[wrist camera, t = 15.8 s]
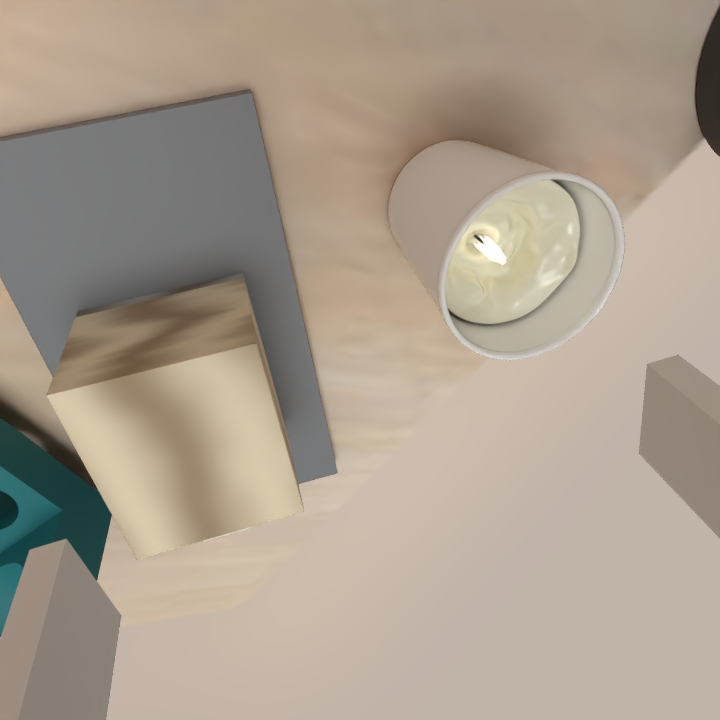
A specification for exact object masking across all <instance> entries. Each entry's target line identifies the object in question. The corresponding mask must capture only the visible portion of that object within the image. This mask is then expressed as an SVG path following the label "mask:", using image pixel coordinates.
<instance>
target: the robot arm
mask: <svg viewBox="0 0 720 720" xmlns="http://www.w3.org/2000/svg"><path fill="white" fill-rule="evenodd" d="M697 111H698V118H699V122H700V126H701V129H702V132H703V134H704V137H705V138H706V140H707V142H708V144H709V145H710V147H711V148H712V149H713V150H714V152H715V153H716V154H717V155H718V156H720V11H719V12H718V15H717V17H716V19H715V21H714V23H713V25H712V28H711V30H710V33H709V35H708V38H707V41H706V44H705V47H704V50H703V54H702V58H701V62H700V67H699V72H698V80H697ZM639 454H640V455H641V456H642V457H643V458H644V459H645V460H646V462H647V463H648V464H649V465H650V466H651V467H652V468H653V469H654V470H655V471H656V472H657V473H658V474H659V475H660V476H661V477H662V478H663V479H664V480H665V481H666V482H667V484H668V485H669V486H670V487H671V488H672V489H673V490H674V491H675V492H676V493H677V494H678V495H679V496H680V497H681V498H682V499H683V500H684V501H685V502H686V503H687V504H688V506H690V507H691V509H692V510H693V511H694V512H695V513H696V514H697V515H698V516H699V517H700V518H701V519H702V520H703V521H704V522H705V523H706V524H707V525H708V526H709V528H711V530H712V531H713V532H714V533H715V534H716V535H717V536H718V537H719V538H720V386H719V385H717V384H716V383H715V382H714V381H712V380H711V379H710V378H708V377H707V376H706V375H704V374H703V373H702V372H700V371H699V370H698V369H696V368H695V367H694V366H692V365H691V364H690V363H688V362H687V361H686V360H684V359H683V358H682V357H680V356H679V355H676V356H673V357H669V358H666V359H663V360H660V361H656V362H653V363H649V364H647V370H646V381H645V393H644V404H643V414H642V425H641V436H640V447H639ZM120 620H121V615H120V613H119V612H118V611H117V609H116V608H115V606H114V605H113V603H112V602H111V601H110V599H109V598H108V596H107V595H106V594H105V592H104V591H103V589H102V588H101V587H100V585H99V584H98V582H97V581H96V580H95V578H94V577H93V575H92V574H91V572H90V571H89V570H88V568H87V567H86V565H85V564H84V563H83V561H82V560H81V558H80V557H79V556H78V554H77V553H76V551H75V550H74V549H73V547H72V546H71V544H70V543H69V541H68V540H67V539H64V540H60V541H57V542H54V543H50V544H47V545H44V546H40V547H37V548H34V549H30V550H29V553H28V556H27V559H26V562H25V565H24V568H23V571H22V574H21V577H20V580H19V583H18V586H17V589H16V592H15V595H14V598H13V601H12V604H11V608H10V611H9V614H8V617H7V620H6V623H5V626H4V629H3V632H2V635H1V638H0V720H106V716H107V709H108V703H109V696H110V689H111V682H112V675H113V668H114V661H115V654H116V647H117V641H118V634H119V627H120Z"/></svg>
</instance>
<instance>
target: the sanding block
mask: <svg viewBox="0 0 720 720" xmlns="http://www.w3.org/2000/svg"><path fill="white" fill-rule="evenodd" d="M47 398H48V399H49V401H50V403H51V405H52V407H53V409H54V410H55V412H56V414H57V416H58V418H59V419H60V421H61V423H62V425H63V427H64V429H65V430H66V432H67V434H68V436H69V438H70V439H71V441H72V443H73V445H74V447H75V449H76V450H77V452H78V454H79V456H80V458H81V460H82V461H83V463H84V465H85V467H86V469H87V470H88V472H89V474H90V476H91V478H92V480H93V481H94V483H95V485H96V487H97V489H98V490H99V492H100V494H101V496H102V498H103V500H104V501H105V503H106V505H107V507H108V509H109V511H110V512H111V514H112V516H113V518H114V520H115V521H116V523H117V525H118V527H119V529H120V531H121V532H122V534H123V536H124V538H125V540H126V541H127V543H128V545H129V547H130V549H131V551H132V552H133V554H134V556H135V558H136V560H137V559H141V558H144V557H148V556H151V555H155V554H158V553H162V552H165V551H169V550H172V549H176V548H179V547H183V546H186V545H189V544H193V543H196V542H200V541H203V540H207V539H210V538H214V537H217V536H221V535H224V534H228V533H231V532H235V531H238V530H242V529H245V528H249V527H252V526H256V525H259V524H262V523H266V522H269V521H273V520H276V519H280V518H283V517H287V516H290V515H294V514H297V513H301V512H304V508H303V503H302V499H301V494H300V489H299V485H298V480H297V476H296V471H295V467H294V462H293V457H292V453H291V448H290V444H289V439H288V435H287V430H286V426H285V421H284V418H283V414H282V410H281V407H280V403H279V400H278V396H277V392H276V389H275V385H274V382H273V378H272V375H271V371H270V367H269V364H268V360H267V357H266V353H265V349H264V346H263V342H262V339H261V335H260V331H259V328H258V324H257V321H256V317H255V313H254V310H253V306H252V303H251V299H250V295H249V292H248V288H247V285H246V281H245V278H244V274H243V273H240V274H235V275H231V276H227V277H223V278H218V279H214V280H210V281H205V282H201V283H197V284H193V285H188V286H184V287H180V288H175V289H171V290H167V291H163V292H158V293H154V294H150V295H145V296H141V297H137V298H133V299H128V300H124V301H120V302H116V303H111V304H107V305H103V306H98V307H94V308H90V309H86V310H81V311H78V312H77V314H76V317H75V320H74V322H73V325H72V328H71V330H70V333H69V336H68V339H67V341H66V344H65V347H64V349H63V352H62V355H61V358H60V360H59V363H58V366H57V368H56V371H55V374H54V377H53V379H52V382H51V385H50V387H49V390H48V393H47Z"/></svg>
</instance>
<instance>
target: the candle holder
mask: <svg viewBox="0 0 720 720" xmlns="http://www.w3.org/2000/svg"><path fill="white" fill-rule="evenodd" d="M388 219H389V225H390V229H391V232H392V235H393V237H394V239H395V241H396V243H397V245H398V247H399V248H400V250H401V252H402V253H403V255H404V257H405V258H406V260H407V261H408V263H409V264H410V266H411V268H412V269H413V271H414V272H415V274H416V275H417V277H418V279H419V280H420V282H421V283H422V285H423V286H424V288H425V289H426V291H427V293H428V294H429V296H430V297H431V299H432V300H433V302H434V303H435V305H436V307H437V308H438V310H439V311H440V313H441V314H442V316H443V318H444V321H445V323H446V325H447V326H448V328H449V330H450V331H451V333H452V334H453V335H454V336H455V338H456V339H457V340H458V341H459V342H460V343H462V344H463V345H464V346H465V347H467V348H468V349H470V350H471V351H473V352H475V353H477V354H479V355H482V356H485V357H488V358H492V359H498V360H519V359H525V358H530V357H534V356H537V355H540V354H543V353H546V352H548V351H550V350H553V349H554V348H557V347H558V346H560V345H562V344H564V343H565V342H567V341H568V340H570V339H571V338H573V337H574V336H575V335H576V334H578V333H579V332H580V331H581V330H582V329H583V328H585V327H586V326H587V325H588V324H589V323H590V322H591V321H592V319H593V318H594V317H595V316H596V315H597V314H598V312H599V311H600V310H601V309H602V307H603V306H604V304H605V303H606V301H607V300H608V298H609V296H610V294H611V293H612V291H613V289H614V287H615V284H616V282H617V279H618V277H619V274H620V271H621V267H622V263H623V258H624V250H625V235H624V227H623V223H622V219H621V216H620V213H619V211H618V209H617V207H616V205H615V203H614V202H613V200H612V199H611V198H610V196H609V195H608V194H607V193H606V192H605V191H604V190H603V189H602V188H601V187H600V186H598V185H597V184H595V183H594V182H592V181H591V180H589V179H587V178H584V177H582V176H579V175H576V174H573V173H568V172H562V171H559V170H556V169H553V168H550V167H547V166H544V165H541V164H538V163H535V162H533V161H530V160H527V159H524V158H521V157H518V156H515V155H512V154H509V153H506V152H503V151H500V150H497V149H494V148H491V147H488V146H485V145H482V144H479V143H475V142H471V141H465V140H449V141H443V142H440V143H436V144H434V145H432V146H429V147H427V148H426V149H424V150H422V151H421V152H419V153H418V154H417V155H415V156H414V157H413V158H412V159H411V160H410V161H409V162H408V163H407V164H406V165H405V167H404V168H403V169H402V171H401V172H400V174H399V175H398V177H397V179H396V181H395V183H394V185H393V188H392V191H391V194H390V198H389V205H388Z"/></svg>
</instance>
